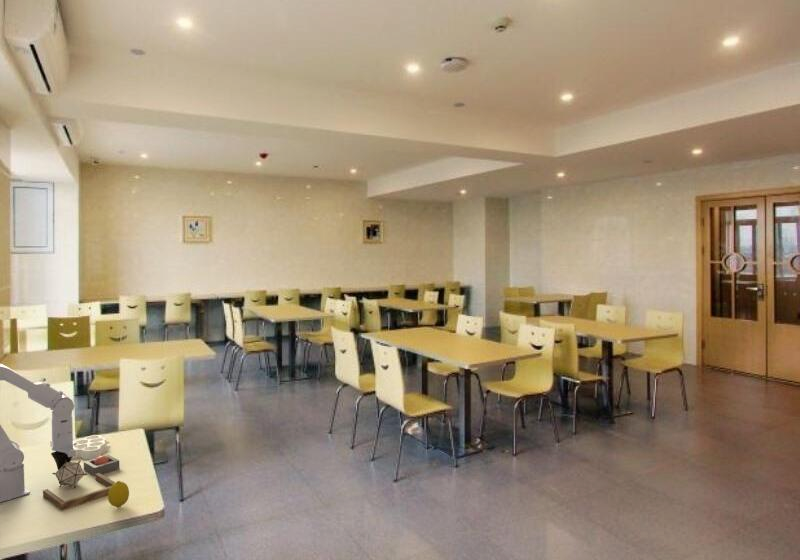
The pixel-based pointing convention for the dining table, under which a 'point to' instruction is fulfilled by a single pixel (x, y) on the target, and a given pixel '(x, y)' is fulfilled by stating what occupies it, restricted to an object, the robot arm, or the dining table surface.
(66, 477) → the game die
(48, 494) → the brown wooden u shape
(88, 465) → the dome housing
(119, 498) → the lemon
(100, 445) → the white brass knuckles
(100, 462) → the salmon ball
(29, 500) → the dining table surface
